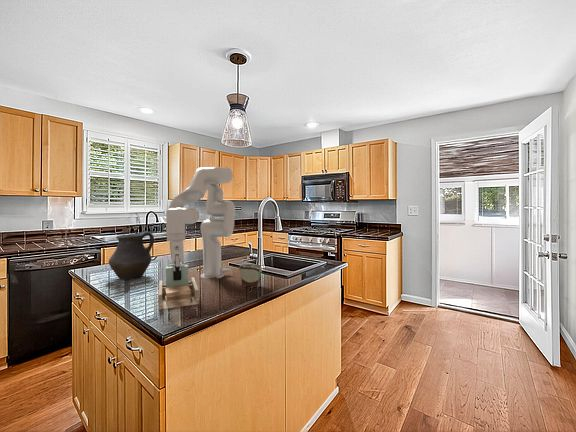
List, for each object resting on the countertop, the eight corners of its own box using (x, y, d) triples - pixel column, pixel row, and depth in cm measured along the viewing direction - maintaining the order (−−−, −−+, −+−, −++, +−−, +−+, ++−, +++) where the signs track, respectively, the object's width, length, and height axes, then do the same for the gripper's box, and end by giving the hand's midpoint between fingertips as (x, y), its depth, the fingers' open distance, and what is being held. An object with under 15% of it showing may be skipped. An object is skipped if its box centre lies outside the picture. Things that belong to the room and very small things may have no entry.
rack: (194, 292, 130) (193, 277, 129) (199, 307, 111) (198, 290, 111) (159, 296, 124) (159, 280, 123) (159, 313, 106) (158, 295, 105)
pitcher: (110, 275, 158) (108, 231, 156) (153, 270, 168) (152, 229, 167) (108, 285, 140) (106, 235, 138) (156, 279, 150) (155, 232, 149)
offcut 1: (188, 289, 119) (188, 285, 119) (190, 294, 113) (190, 290, 113) (165, 292, 115) (165, 288, 115) (166, 297, 109) (166, 293, 109)
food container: (266, 285, 140) (266, 265, 139) (260, 288, 134) (260, 268, 134) (245, 282, 145) (245, 262, 145) (239, 285, 140) (238, 265, 139)
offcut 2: (190, 292, 120) (190, 288, 120) (191, 297, 113) (191, 294, 113) (167, 295, 116) (167, 291, 116) (166, 300, 110) (166, 296, 110)
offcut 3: (188, 296, 120) (188, 292, 119) (190, 301, 113) (190, 297, 113) (165, 299, 116) (165, 295, 115) (166, 305, 109) (166, 301, 109)
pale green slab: (188, 291, 126) (187, 264, 125) (188, 293, 124) (188, 266, 123) (166, 294, 122) (165, 266, 122) (166, 296, 120) (165, 268, 119)
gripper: (186, 239, 115) (187, 283, 117) (184, 234, 130) (185, 273, 132) (166, 240, 112) (168, 285, 114) (166, 235, 127) (167, 275, 129)
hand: (177, 278), depth 123 cm, fingers open, 3 cm apart
